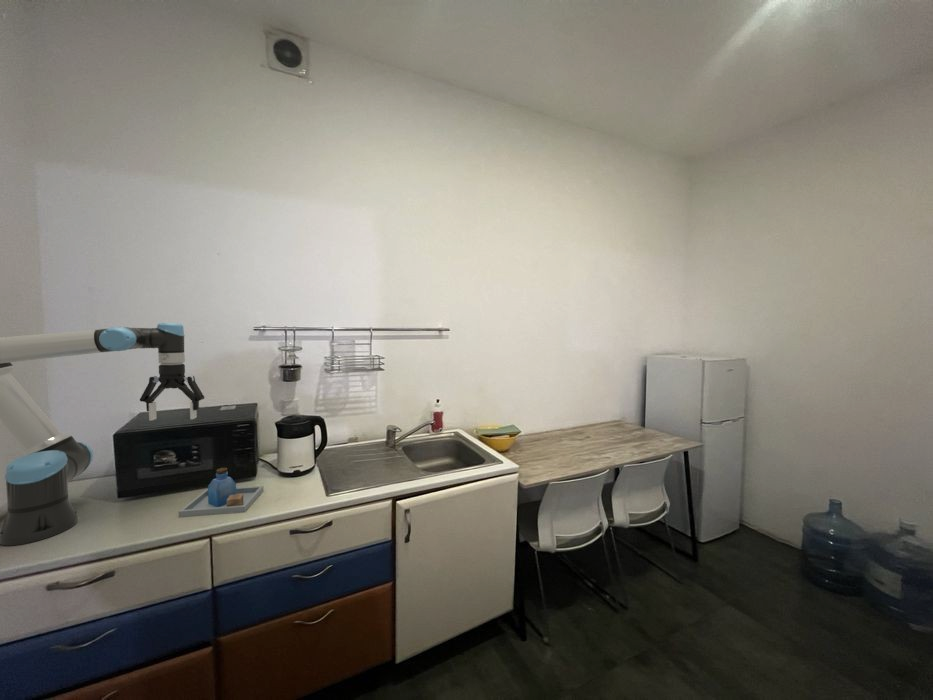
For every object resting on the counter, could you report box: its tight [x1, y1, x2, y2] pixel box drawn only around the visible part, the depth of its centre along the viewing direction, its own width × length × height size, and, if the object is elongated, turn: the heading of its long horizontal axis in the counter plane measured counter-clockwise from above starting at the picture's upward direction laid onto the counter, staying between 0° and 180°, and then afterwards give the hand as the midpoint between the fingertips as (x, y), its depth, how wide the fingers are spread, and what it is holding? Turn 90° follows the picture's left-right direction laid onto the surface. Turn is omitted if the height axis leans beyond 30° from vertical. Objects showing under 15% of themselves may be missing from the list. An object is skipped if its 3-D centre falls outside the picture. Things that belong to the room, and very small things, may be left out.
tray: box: [178, 485, 264, 518], centre depth 123 cm, size 20×16×2 cm
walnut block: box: [227, 494, 243, 507], centre depth 119 cm, size 4×4×4 cm
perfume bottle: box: [207, 467, 237, 507], centre depth 123 cm, size 6×6×12 cm
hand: (173, 419), depth 130 cm, fingers open, 13 cm apart
